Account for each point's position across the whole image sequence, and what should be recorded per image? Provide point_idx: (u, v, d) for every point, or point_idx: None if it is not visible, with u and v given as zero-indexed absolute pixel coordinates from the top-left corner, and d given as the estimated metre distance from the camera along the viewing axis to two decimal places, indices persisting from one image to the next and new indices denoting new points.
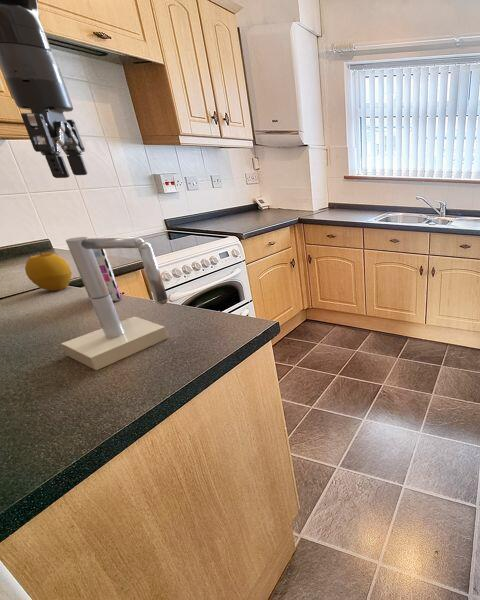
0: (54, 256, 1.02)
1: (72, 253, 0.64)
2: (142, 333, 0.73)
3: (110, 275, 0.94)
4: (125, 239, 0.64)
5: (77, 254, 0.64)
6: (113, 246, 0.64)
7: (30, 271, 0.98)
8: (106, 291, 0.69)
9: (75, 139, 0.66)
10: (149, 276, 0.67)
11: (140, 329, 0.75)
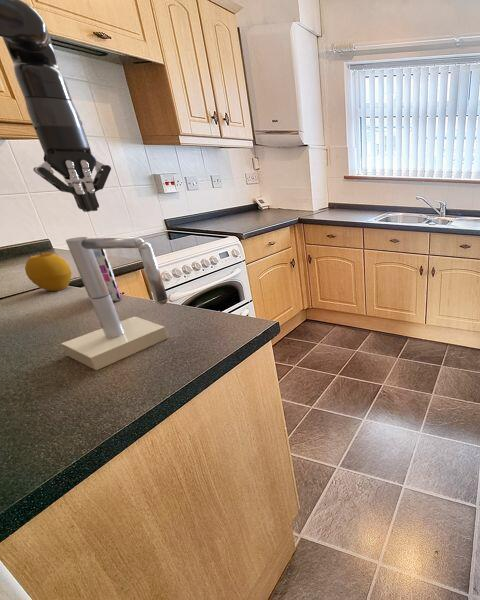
0: (54, 256, 1.02)
1: (72, 253, 0.64)
2: (142, 333, 0.73)
3: (110, 275, 0.94)
4: (125, 239, 0.64)
5: (77, 254, 0.64)
6: (113, 246, 0.64)
7: (30, 271, 0.98)
8: (106, 291, 0.69)
9: (87, 176, 0.73)
10: (149, 276, 0.67)
11: (140, 329, 0.75)
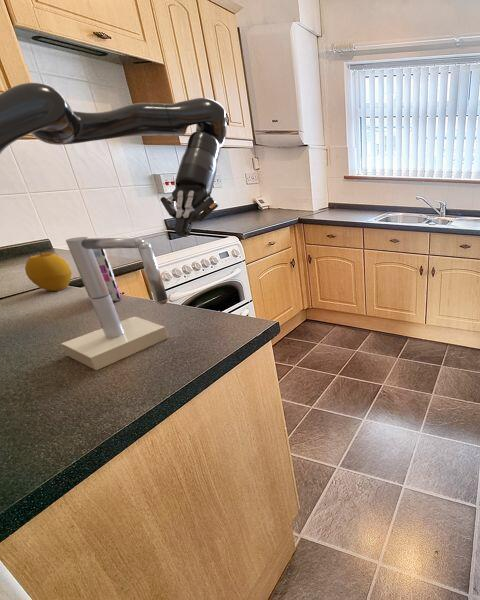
0: (54, 256, 1.02)
1: (72, 253, 0.64)
2: (142, 333, 0.73)
3: (110, 275, 0.94)
4: (125, 239, 0.64)
5: (77, 254, 0.64)
6: (113, 246, 0.64)
7: (30, 271, 0.98)
8: (106, 291, 0.69)
9: (187, 203, 0.77)
10: (149, 276, 0.67)
11: (140, 329, 0.75)
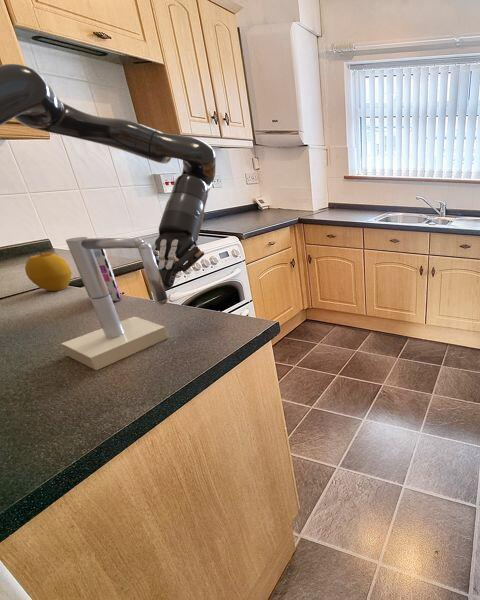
0: (54, 256, 1.02)
1: (72, 253, 0.64)
2: (142, 333, 0.73)
3: (110, 275, 0.94)
4: (125, 239, 0.64)
5: (77, 254, 0.64)
6: (113, 246, 0.64)
7: (30, 271, 0.98)
8: (106, 291, 0.69)
9: (171, 253, 0.72)
10: (149, 276, 0.67)
11: (140, 329, 0.75)
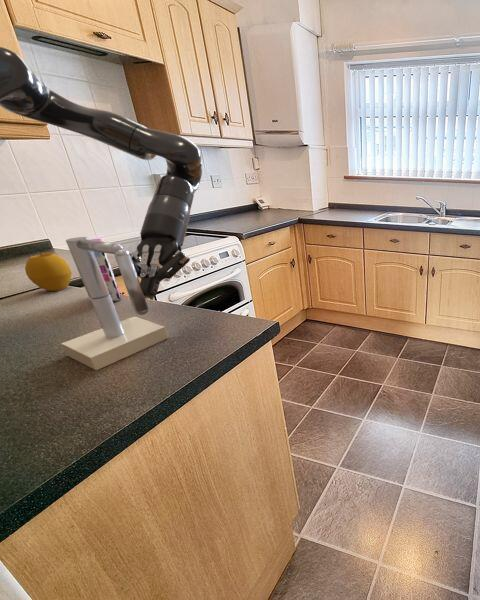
0: (54, 256, 1.02)
1: (71, 253, 0.64)
2: (142, 333, 0.73)
3: (110, 275, 0.94)
4: (105, 244, 0.61)
5: (74, 255, 0.64)
6: (97, 250, 0.62)
7: (30, 271, 0.98)
8: (103, 292, 0.68)
9: (153, 259, 0.67)
10: (125, 285, 0.62)
11: (140, 329, 0.75)
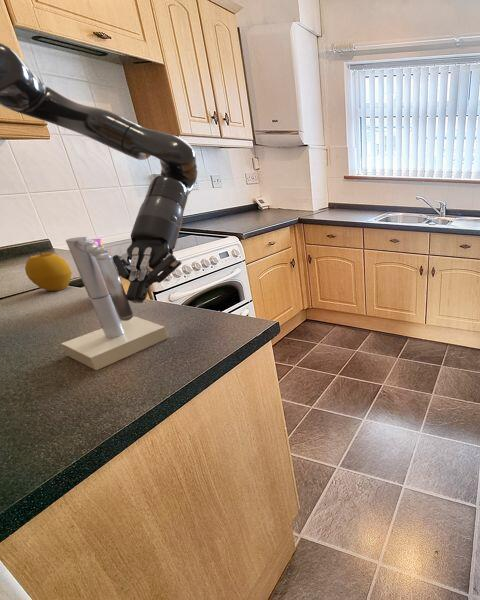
0: (54, 256, 1.02)
1: None
2: (142, 333, 0.73)
3: None
4: (91, 247, 0.59)
5: (72, 254, 0.64)
6: (86, 252, 0.61)
7: (30, 271, 0.98)
8: (101, 293, 0.68)
9: (143, 262, 0.65)
10: (108, 289, 0.60)
11: (140, 329, 0.75)
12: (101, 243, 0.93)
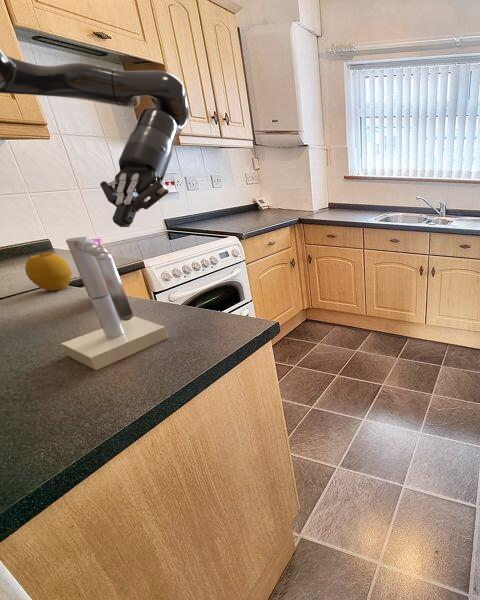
0: (54, 256, 1.02)
1: None
2: (142, 333, 0.73)
3: None
4: (91, 247, 0.59)
5: (72, 254, 0.64)
6: (86, 252, 0.61)
7: (30, 271, 0.98)
8: (101, 293, 0.68)
9: (130, 187, 0.65)
10: (108, 289, 0.60)
11: (140, 329, 0.75)
12: (101, 243, 0.93)
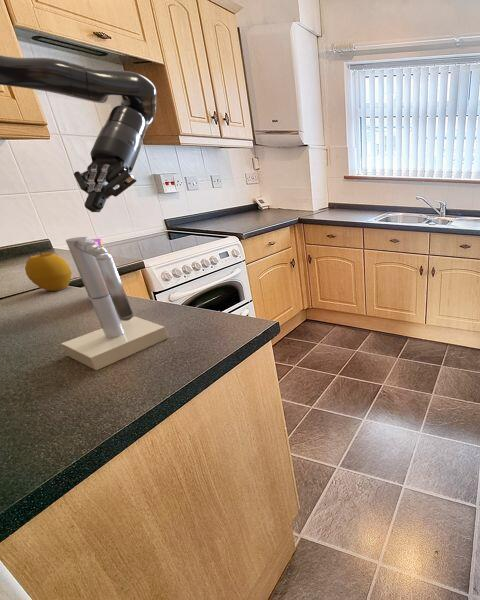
0: (54, 256, 1.02)
1: None
2: (142, 333, 0.73)
3: None
4: (91, 247, 0.59)
5: (72, 254, 0.64)
6: (86, 252, 0.61)
7: (30, 271, 0.98)
8: (101, 293, 0.68)
9: (100, 176, 0.73)
10: (108, 289, 0.60)
11: (140, 329, 0.75)
12: (101, 243, 0.93)
